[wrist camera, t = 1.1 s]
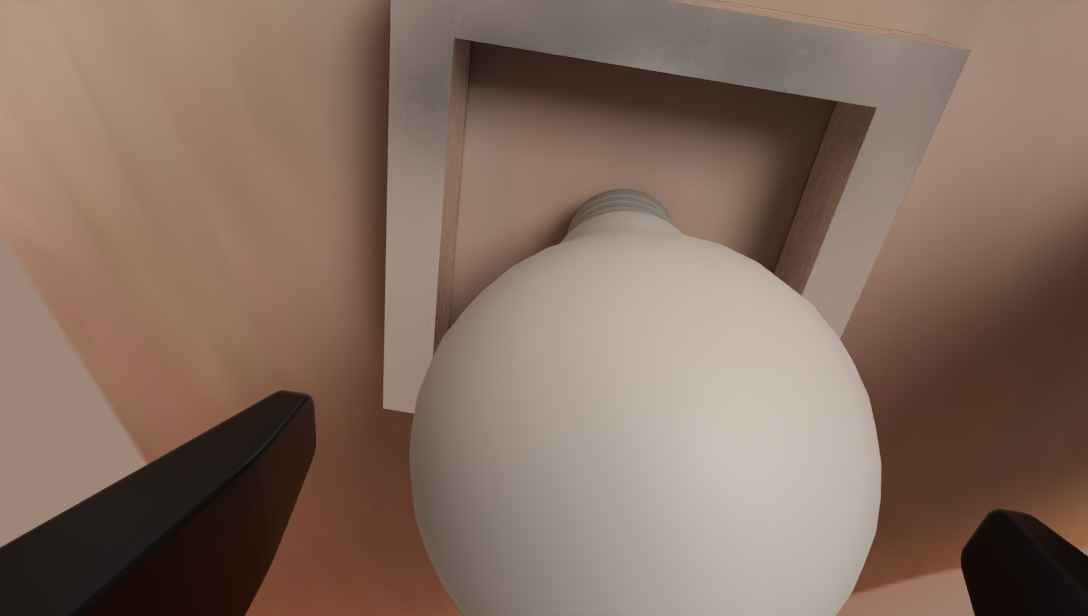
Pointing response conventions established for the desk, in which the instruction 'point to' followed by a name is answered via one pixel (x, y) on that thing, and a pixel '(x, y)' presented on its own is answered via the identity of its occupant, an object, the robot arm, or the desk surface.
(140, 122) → the desk surface
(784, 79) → the grey flat square frame
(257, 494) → the robot arm
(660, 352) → the lightbulb
